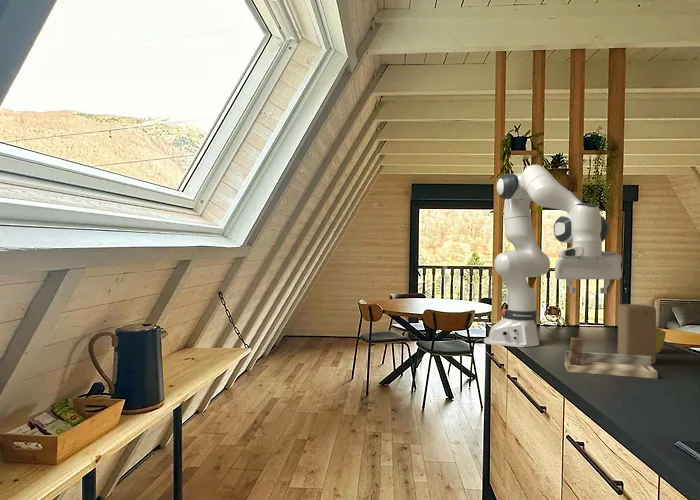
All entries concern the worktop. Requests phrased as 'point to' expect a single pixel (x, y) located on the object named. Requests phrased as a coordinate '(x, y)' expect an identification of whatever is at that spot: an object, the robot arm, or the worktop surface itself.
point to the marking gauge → (576, 352)
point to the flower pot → (659, 339)
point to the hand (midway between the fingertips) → (587, 293)
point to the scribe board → (613, 365)
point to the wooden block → (637, 330)
